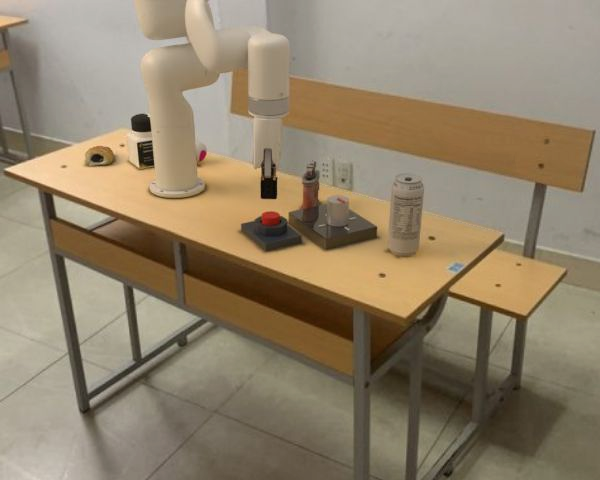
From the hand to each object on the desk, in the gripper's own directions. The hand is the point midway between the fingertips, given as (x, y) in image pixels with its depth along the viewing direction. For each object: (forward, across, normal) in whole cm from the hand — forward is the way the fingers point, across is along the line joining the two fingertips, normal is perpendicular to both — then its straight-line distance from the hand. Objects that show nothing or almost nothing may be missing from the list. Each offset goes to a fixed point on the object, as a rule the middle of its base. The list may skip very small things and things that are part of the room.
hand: (268, 197), depth 152 cm
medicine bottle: (+10, -43, -32) cm, 55 cm away
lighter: (+9, -15, +8) cm, 19 cm away
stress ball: (+10, -43, -20) cm, 48 cm away
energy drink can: (+8, +6, +26) cm, 28 cm away
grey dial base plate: (+8, -3, +13) cm, 16 cm away
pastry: (+10, -44, -44) cm, 63 cm away
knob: (+6, -2, +14) cm, 15 cm away
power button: (+5, 0, 0) cm, 5 cm away
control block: (+8, 0, 0) cm, 8 cm away
